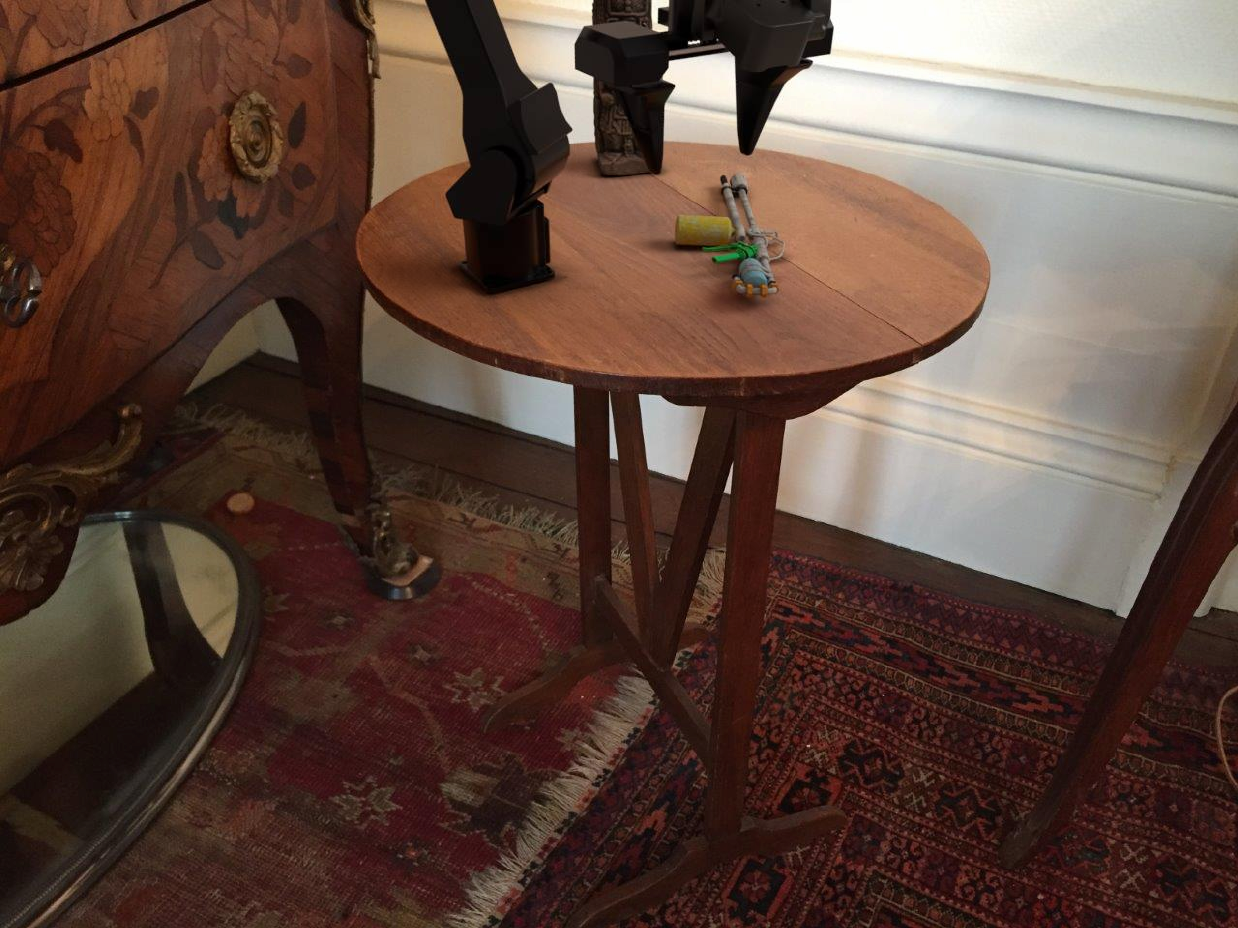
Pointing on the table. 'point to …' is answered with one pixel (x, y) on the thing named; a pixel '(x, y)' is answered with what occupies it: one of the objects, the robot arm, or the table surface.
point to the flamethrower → (719, 233)
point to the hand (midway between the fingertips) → (701, 163)
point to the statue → (610, 121)
